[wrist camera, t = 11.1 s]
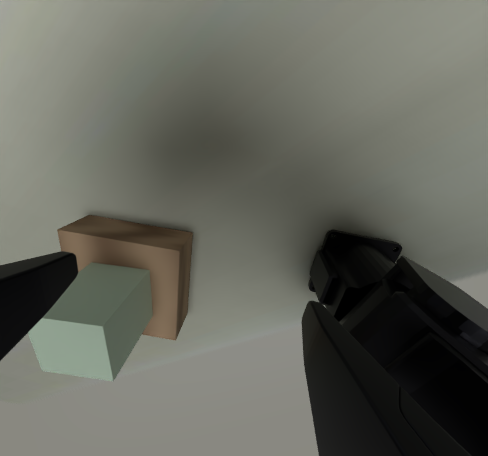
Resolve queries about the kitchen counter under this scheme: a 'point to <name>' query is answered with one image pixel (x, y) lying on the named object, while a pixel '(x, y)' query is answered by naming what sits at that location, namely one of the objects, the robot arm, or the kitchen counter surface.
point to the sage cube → (95, 322)
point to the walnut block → (139, 262)
